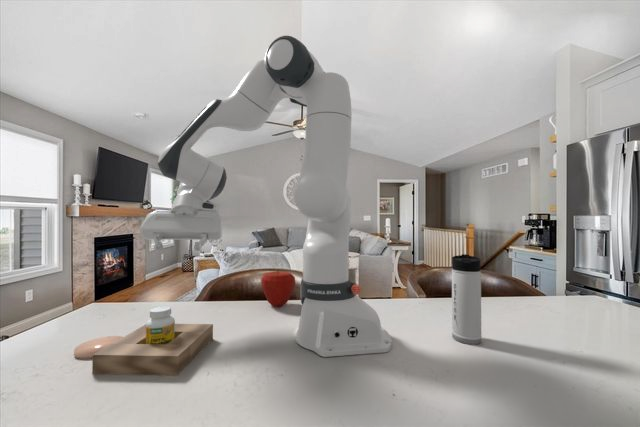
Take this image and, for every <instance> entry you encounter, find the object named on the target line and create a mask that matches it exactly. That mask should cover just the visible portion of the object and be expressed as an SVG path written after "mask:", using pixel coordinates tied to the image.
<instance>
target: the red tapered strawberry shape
mask: <svg viewBox="0 0 640 427" xmlns="http://www.w3.org/2000/svg"><path fill="white" fill-rule="evenodd" d="M260 279H261V280H260V282H261V284H260V285H261V287H262V291H263V294H264V297H265V298H266V301H267V302H268V304H270V305H271V306H272V307H275V308H282V307H283V306H284V305H286V304H288V301H289V300H290V298H291V296H292V294H293V291H294V289H295V286H296V277H295V276H294V275H293V273H291V272H288V271H287V272H286V271H280V270H279V269H278V270H277V271H271V272H266V273H264V274H263V275H262V277H261V278H260Z"/></svg>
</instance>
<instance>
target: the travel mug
mask: <svg viewBox="0 0 640 427" xmlns="http://www.w3.org/2000/svg"><path fill="white" fill-rule="evenodd" d="M481 267H482V266H481V257H477V256H473V255H470V254H467V253H466V254H465V253H464V254H463V253H461V255H454V256H452V257H451V325H452V328H451V329H452V330H451V331H452V333H451V335H452V339H454V340H455V341H457V342H459V343H462V344H464V345H472V344H474V345H479V344H481V343H482V278H481V277H482V274H481V273H482V270H481Z"/></svg>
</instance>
